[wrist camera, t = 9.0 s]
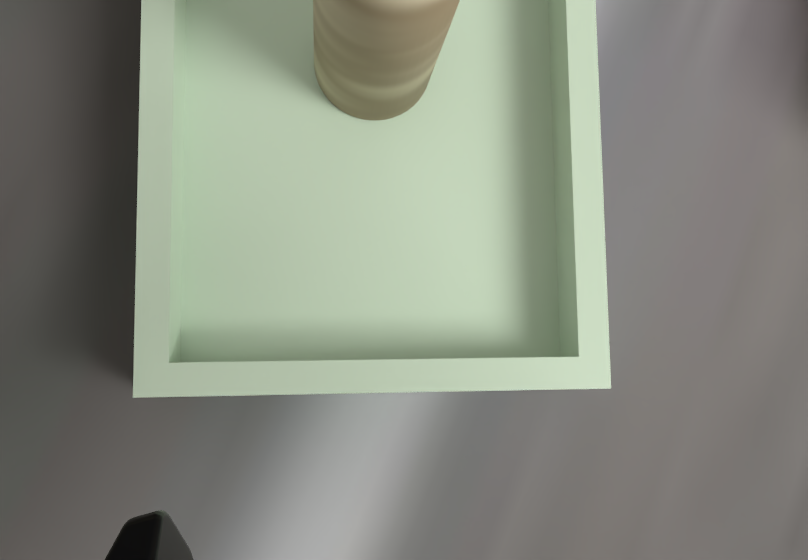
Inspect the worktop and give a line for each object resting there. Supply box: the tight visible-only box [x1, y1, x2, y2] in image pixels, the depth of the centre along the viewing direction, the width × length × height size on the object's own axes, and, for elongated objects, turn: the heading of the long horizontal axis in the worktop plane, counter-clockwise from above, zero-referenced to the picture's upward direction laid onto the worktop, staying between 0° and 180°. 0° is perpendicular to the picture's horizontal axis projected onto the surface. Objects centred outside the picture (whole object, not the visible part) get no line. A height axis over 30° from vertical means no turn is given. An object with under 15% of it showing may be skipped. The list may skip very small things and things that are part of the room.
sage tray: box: [133, 0, 611, 398], centre depth 20 cm, size 16×12×2 cm
